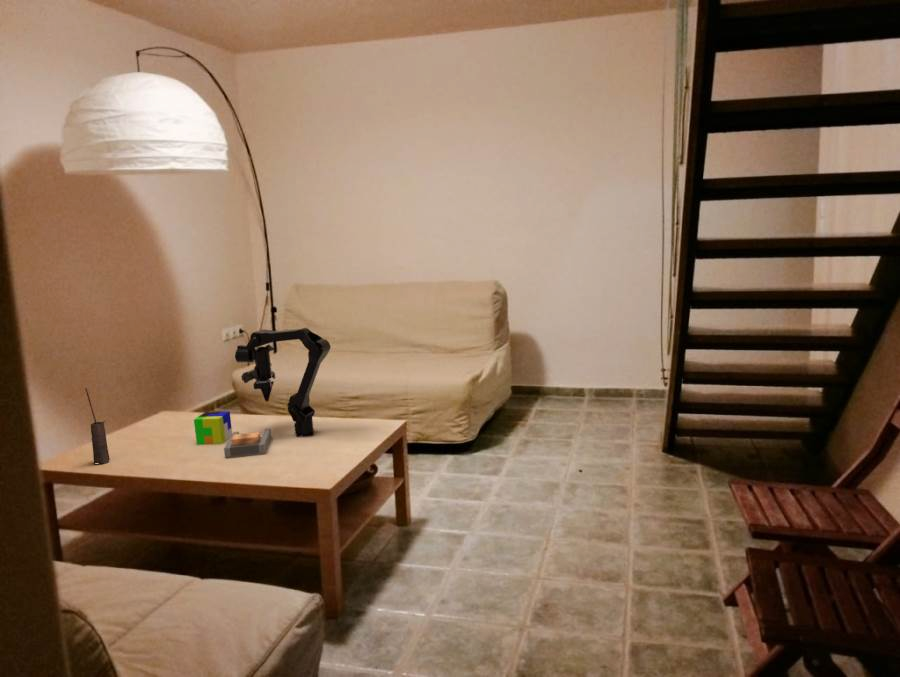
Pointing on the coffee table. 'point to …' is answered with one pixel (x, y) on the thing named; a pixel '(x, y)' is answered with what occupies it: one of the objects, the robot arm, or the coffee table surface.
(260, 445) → the chute
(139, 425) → the coffee table surface
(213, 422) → the puzzle toy
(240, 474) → the coffee table surface
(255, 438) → the orange block
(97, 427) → the butter churn
